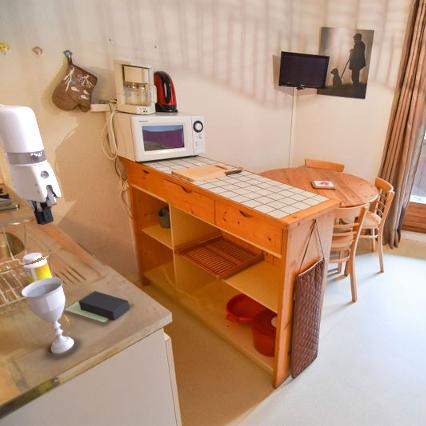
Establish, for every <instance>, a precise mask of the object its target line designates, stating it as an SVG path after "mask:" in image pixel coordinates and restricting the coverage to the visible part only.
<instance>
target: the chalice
mask: <svg viewBox="0 0 426 426" xmlns="http://www.w3.org/2000/svg"><path fill="white" fill-rule="evenodd" d="M63 283H64V280H63V278H61V277H57V276H52V277H51V278H45V279H41V280H38V281H36V282H33V283H31V284H30V285H29V284H28V285H27V286H25V287H24V288H23V289H22V290H21V295H22V296H23V297H25V298H26V299H27V302H28V305H29V308H30V311H31V312H32V314H34V315H35V316H36V317H37V318H39V319H40V320H42V321H44V322H46V323H52V326H51V329H53V330H54V332H53V335H54V336H56V339H55V340H53V341H52V343H51V346H50V352H51V353H53V354H61V353H64V352H66V351H68V350H70V349H71V348H72V347H73V345H74V344H75V341H74V339H73V338H71V337H70V336H67V335H63V332H64V330H63V329H61V323H59V322H58V320H59V319H61V318H62V315H63V312H64V310H65V304H66V296H65V292H64V289H63Z"/></svg>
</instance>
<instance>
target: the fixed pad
mask: <svg viewBox="0 0 426 426" xmlns="http://www.w3.org/2000/svg"><path fill="white" fill-rule="evenodd" d="M95 307H96V311H97V315H99V316H102V317H105V318H109V319H108V320H112V321H116V320H118V319H119V318H120V317H122V316H123V315H124V314H125V313H126V312H129V310H130V304H129V300H127V299H124V298H120V297H116V296H114V295H111V296H110V297H109V298H107V299H106V300H104V301H103V302H101V303H100V304H98V305H97V306H95Z"/></svg>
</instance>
